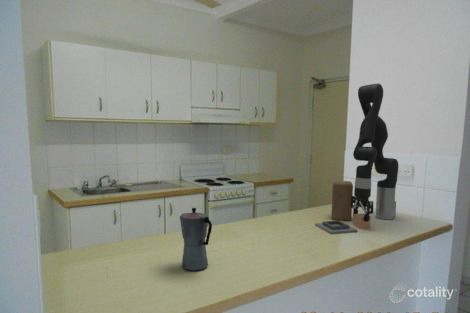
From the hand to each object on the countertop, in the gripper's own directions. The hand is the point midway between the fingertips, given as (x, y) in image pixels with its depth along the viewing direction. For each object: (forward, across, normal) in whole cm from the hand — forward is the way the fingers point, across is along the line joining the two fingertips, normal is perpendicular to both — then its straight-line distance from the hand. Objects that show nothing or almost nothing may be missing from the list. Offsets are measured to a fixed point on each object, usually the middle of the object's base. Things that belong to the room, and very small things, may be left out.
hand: (360, 219), depth 156 cm
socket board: (+4, 0, +14) cm, 15 cm away
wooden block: (+4, +16, 0) cm, 16 cm away
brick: (+4, 0, -1) cm, 4 cm away
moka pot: (+6, -29, +86) cm, 91 cm away
